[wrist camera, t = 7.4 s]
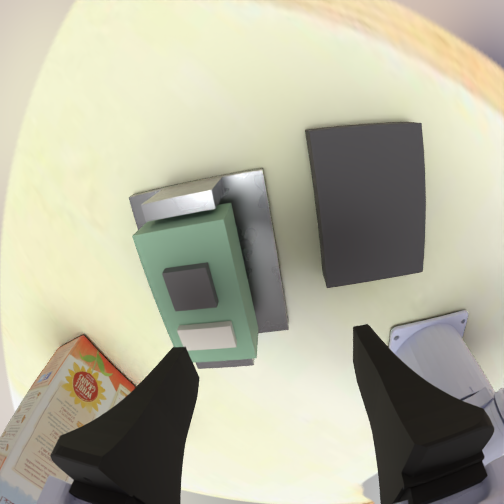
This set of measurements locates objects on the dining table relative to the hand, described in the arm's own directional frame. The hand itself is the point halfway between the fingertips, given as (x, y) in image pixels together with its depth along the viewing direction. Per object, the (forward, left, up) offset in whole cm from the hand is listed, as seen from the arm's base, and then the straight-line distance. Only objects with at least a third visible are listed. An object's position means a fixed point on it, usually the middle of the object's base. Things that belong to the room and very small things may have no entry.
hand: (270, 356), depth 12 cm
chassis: (0, +4, -10) cm, 11 cm away
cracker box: (-13, +19, -10) cm, 25 cm away
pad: (+3, -7, -10) cm, 12 cm away
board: (0, +4, -7) cm, 8 cm away
